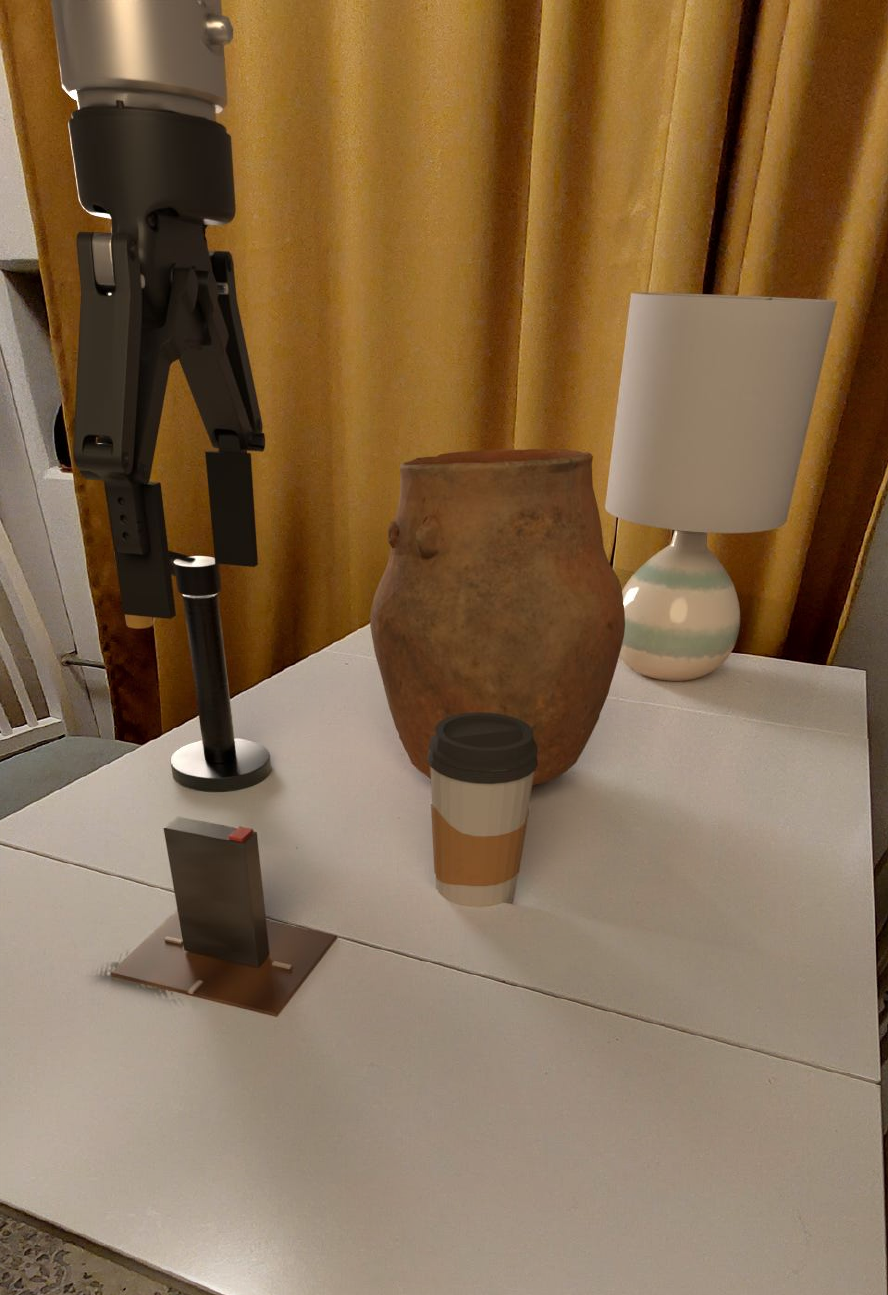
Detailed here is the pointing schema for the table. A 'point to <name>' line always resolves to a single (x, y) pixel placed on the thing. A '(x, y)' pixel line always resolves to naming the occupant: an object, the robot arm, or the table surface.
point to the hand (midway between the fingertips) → (197, 588)
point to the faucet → (214, 713)
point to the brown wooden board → (228, 967)
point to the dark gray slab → (218, 890)
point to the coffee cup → (480, 805)
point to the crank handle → (187, 581)
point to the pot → (498, 600)
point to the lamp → (706, 456)
